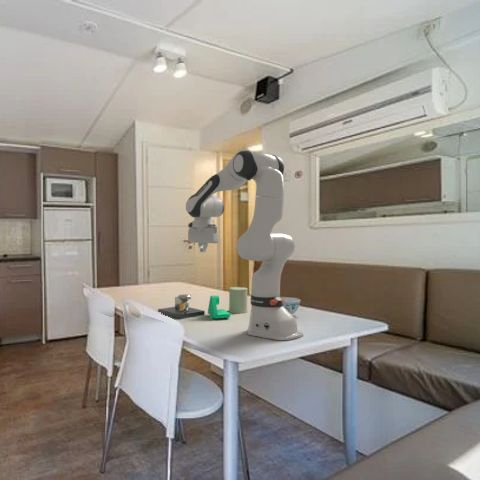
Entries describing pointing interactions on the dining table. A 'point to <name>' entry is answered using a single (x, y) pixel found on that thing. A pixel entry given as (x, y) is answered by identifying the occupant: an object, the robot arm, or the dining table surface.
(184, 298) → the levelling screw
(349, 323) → the dining table surface
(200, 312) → the base
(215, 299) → the camera mount
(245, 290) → the can
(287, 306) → the chinaware
